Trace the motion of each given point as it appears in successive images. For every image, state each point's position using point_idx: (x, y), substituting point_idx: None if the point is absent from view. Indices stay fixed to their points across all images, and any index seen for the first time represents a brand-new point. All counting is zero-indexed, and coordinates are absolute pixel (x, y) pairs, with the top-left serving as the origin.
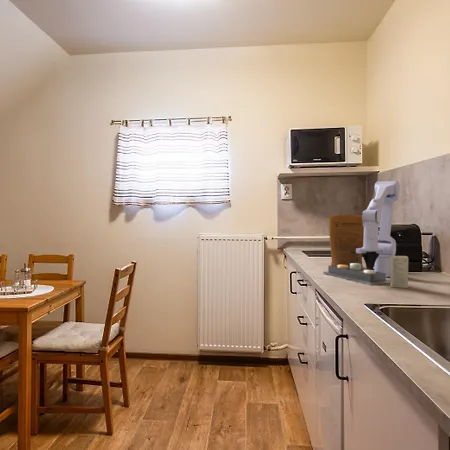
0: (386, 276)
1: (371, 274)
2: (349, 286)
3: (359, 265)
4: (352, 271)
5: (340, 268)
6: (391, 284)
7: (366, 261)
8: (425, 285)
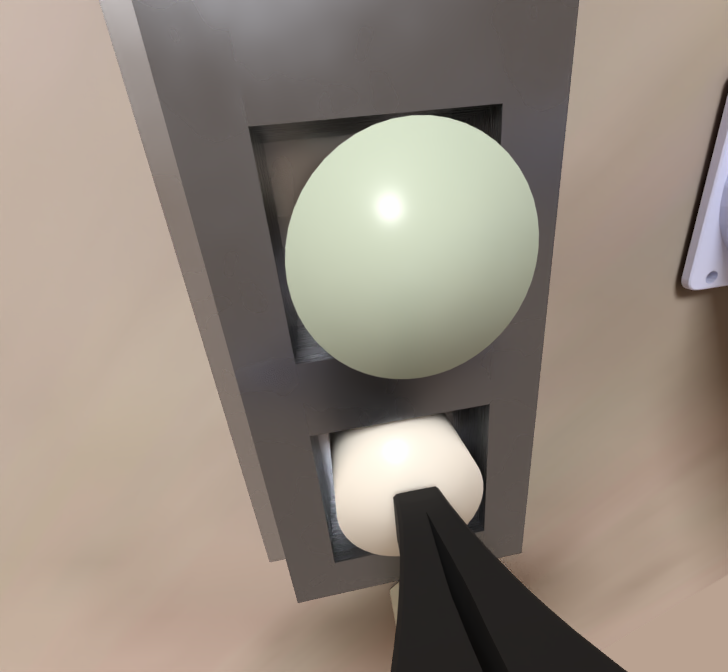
0: (723, 285)
1: (313, 598)
2: (43, 564)
3: (411, 369)
4: (235, 363)
5: (139, 26)
6: (393, 610)
7: (418, 621)
8: (636, 567)
